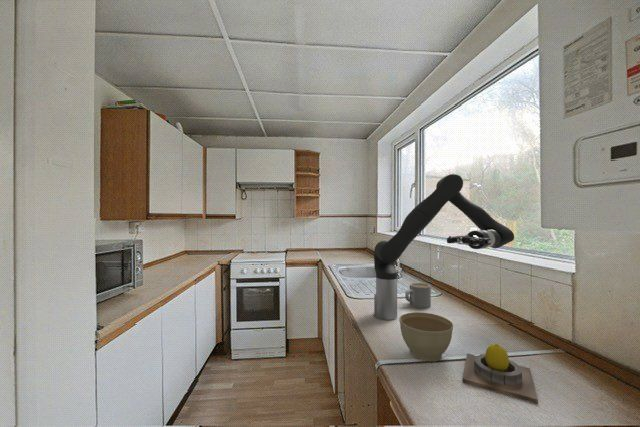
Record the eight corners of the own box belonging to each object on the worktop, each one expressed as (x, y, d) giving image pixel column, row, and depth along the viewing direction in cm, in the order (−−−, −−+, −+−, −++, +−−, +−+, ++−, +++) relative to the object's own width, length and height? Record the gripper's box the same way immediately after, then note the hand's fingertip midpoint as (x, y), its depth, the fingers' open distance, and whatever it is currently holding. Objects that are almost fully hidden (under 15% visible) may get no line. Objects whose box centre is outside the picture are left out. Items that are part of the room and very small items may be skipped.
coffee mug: (424, 301, 144) (424, 282, 145) (434, 307, 135) (434, 287, 135) (399, 302, 142) (399, 283, 143) (408, 309, 133) (408, 288, 133)
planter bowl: (389, 347, 94) (389, 315, 94) (427, 340, 100) (427, 309, 100) (422, 372, 79) (422, 334, 79) (465, 362, 85) (465, 326, 85)
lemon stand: (462, 382, 74) (462, 369, 74) (466, 356, 88) (466, 345, 88) (537, 403, 66) (537, 388, 66) (529, 371, 80) (529, 359, 80)
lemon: (512, 379, 74) (512, 349, 74) (490, 377, 75) (489, 347, 75) (503, 368, 79) (503, 340, 79) (482, 366, 80) (482, 338, 81)
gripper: (463, 229, 120) (441, 230, 111) (499, 231, 108) (477, 232, 99) (463, 246, 120) (441, 249, 111) (499, 250, 108) (477, 253, 99)
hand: (458, 241), depth 105 cm, fingers open, 8 cm apart
